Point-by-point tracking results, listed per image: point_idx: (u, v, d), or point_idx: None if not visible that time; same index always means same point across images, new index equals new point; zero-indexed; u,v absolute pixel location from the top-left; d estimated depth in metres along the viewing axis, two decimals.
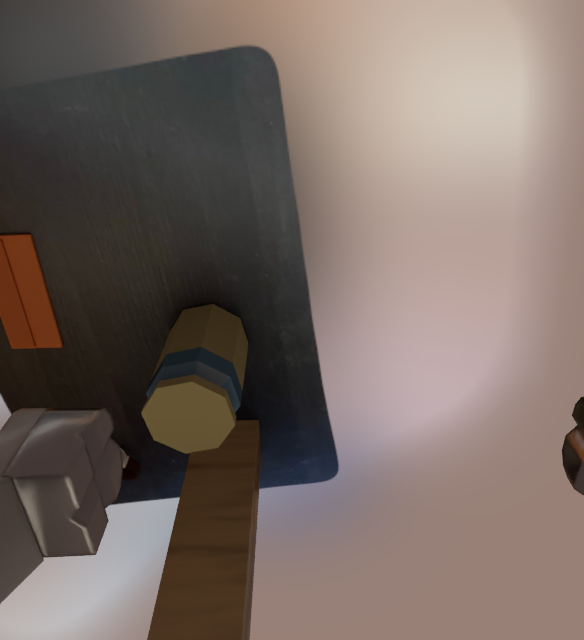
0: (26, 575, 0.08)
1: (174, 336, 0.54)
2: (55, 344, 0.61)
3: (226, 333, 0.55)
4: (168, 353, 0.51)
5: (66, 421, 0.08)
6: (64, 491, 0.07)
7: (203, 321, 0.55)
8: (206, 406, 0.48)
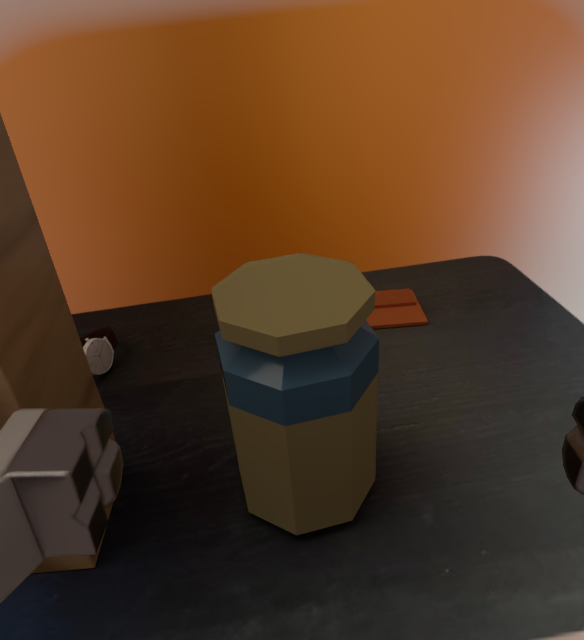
0: (26, 575, 0.08)
1: None
2: None
3: (361, 456, 0.30)
4: None
5: (66, 421, 0.08)
6: (64, 491, 0.07)
7: None
8: (322, 304, 0.26)
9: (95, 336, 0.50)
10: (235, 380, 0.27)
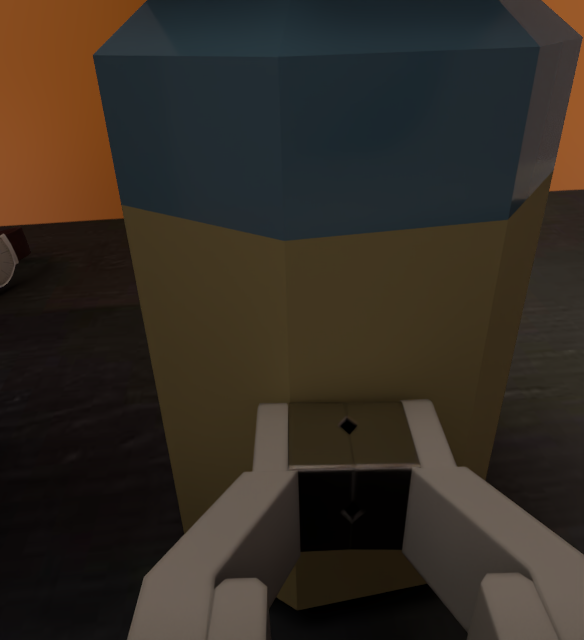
0: (290, 570, 0.08)
1: None
2: None
3: (485, 407, 0.11)
4: None
5: (319, 415, 0.08)
6: (344, 485, 0.07)
7: None
8: None
9: None
10: (130, 85, 0.08)
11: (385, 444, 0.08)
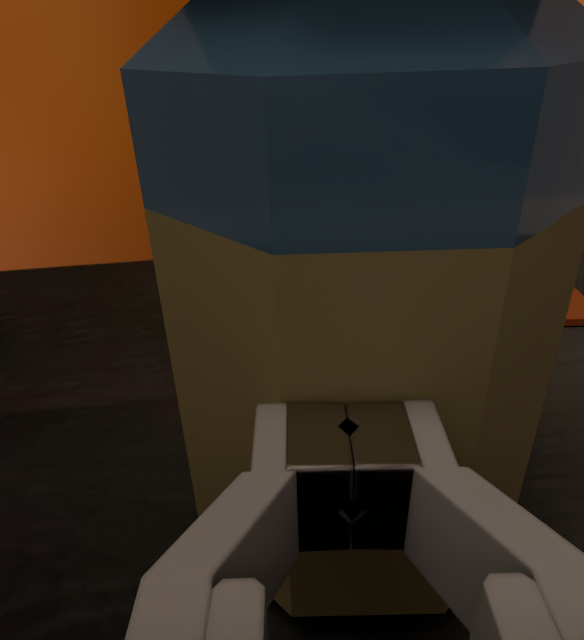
0: (288, 570, 0.08)
1: None
2: None
3: (501, 441, 0.11)
4: None
5: (317, 415, 0.08)
6: (342, 485, 0.07)
7: None
8: None
9: None
10: (148, 98, 0.08)
11: (387, 444, 0.08)
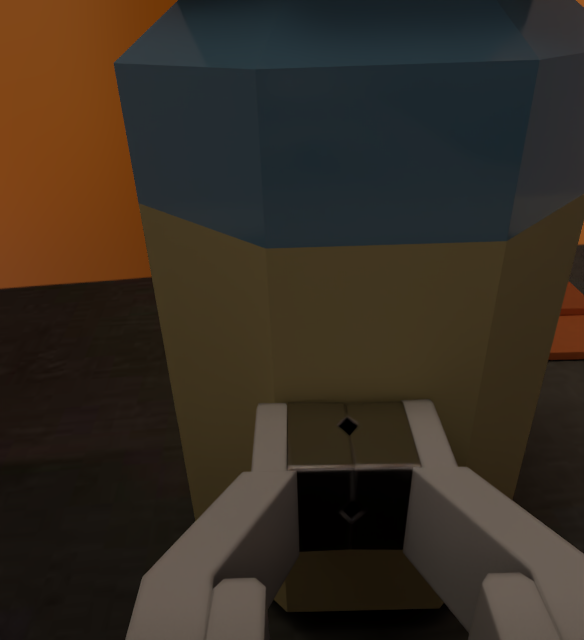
0: (288, 570, 0.08)
1: None
2: None
3: (495, 435, 0.11)
4: None
5: (317, 415, 0.08)
6: (342, 485, 0.07)
7: None
8: None
9: None
10: (141, 92, 0.08)
11: (386, 443, 0.08)
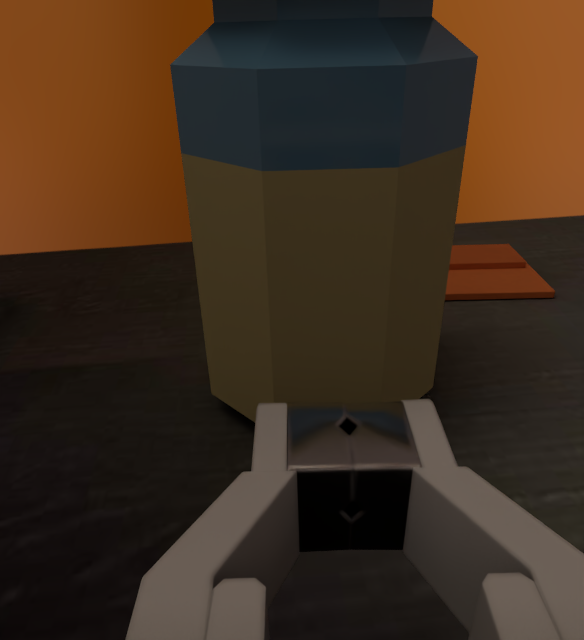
0: (288, 570, 0.08)
1: None
2: None
3: (409, 306, 0.16)
4: None
5: (318, 415, 0.08)
6: (343, 485, 0.07)
7: None
8: None
9: None
10: (188, 82, 0.14)
11: (386, 444, 0.08)
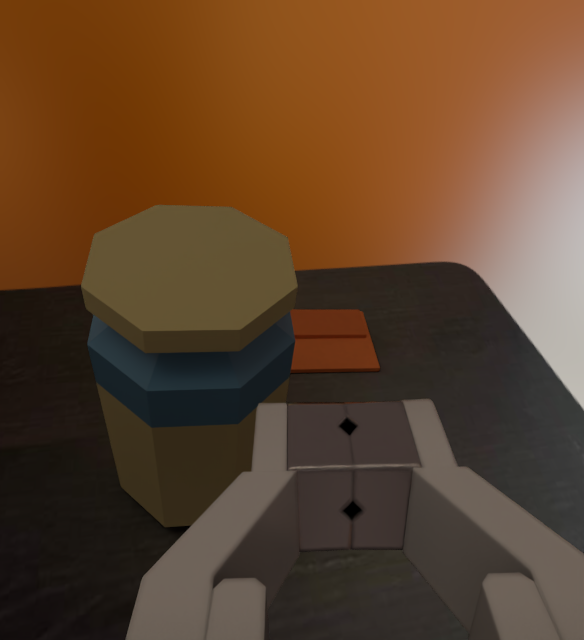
0: (289, 569, 0.08)
1: None
2: None
3: (251, 462, 0.26)
4: None
5: (318, 415, 0.08)
6: (343, 484, 0.07)
7: None
8: (222, 293, 0.20)
9: None
10: (100, 360, 0.21)
11: (386, 444, 0.08)
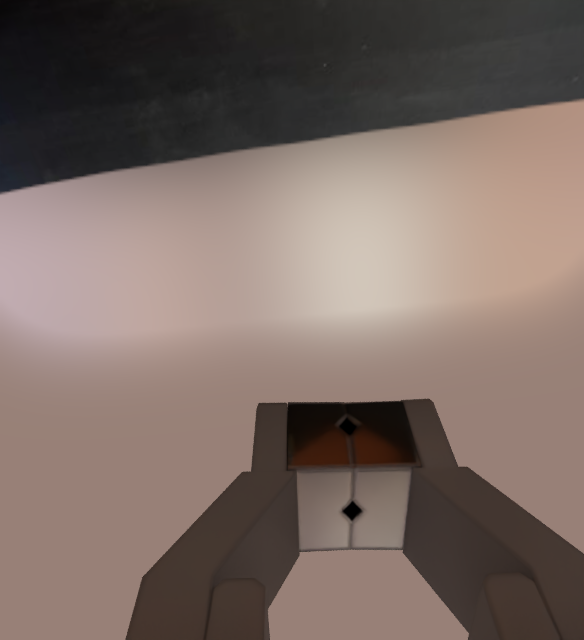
0: (288, 570, 0.08)
1: None
2: None
3: None
4: None
5: (318, 415, 0.08)
6: (342, 485, 0.07)
7: None
8: None
9: None
10: None
11: (386, 443, 0.08)
